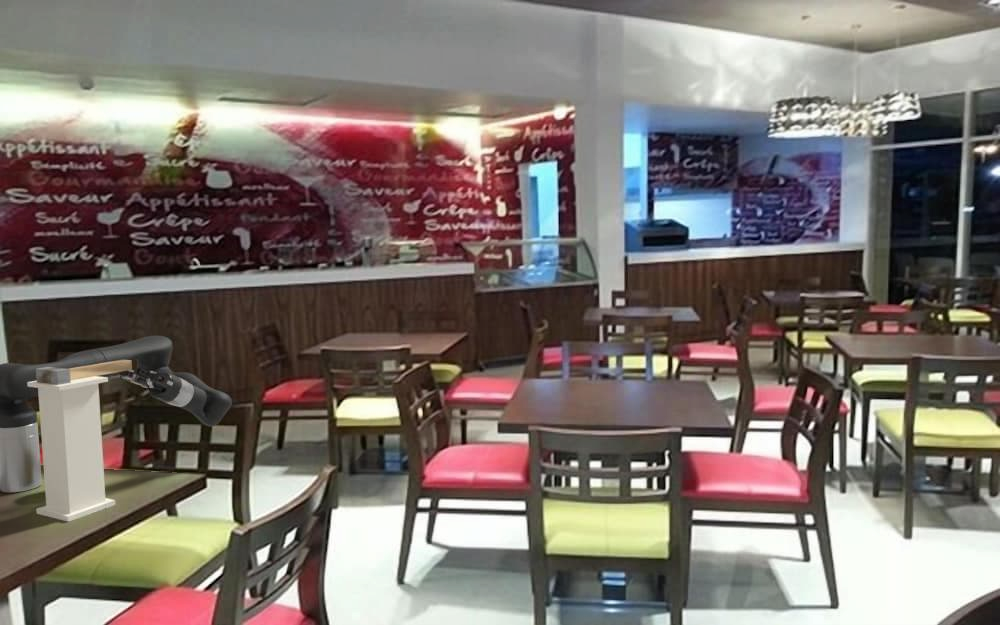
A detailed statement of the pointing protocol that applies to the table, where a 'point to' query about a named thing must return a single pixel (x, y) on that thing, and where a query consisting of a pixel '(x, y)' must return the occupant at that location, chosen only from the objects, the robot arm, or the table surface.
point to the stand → (72, 448)
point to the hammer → (80, 372)
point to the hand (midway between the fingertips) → (124, 368)
